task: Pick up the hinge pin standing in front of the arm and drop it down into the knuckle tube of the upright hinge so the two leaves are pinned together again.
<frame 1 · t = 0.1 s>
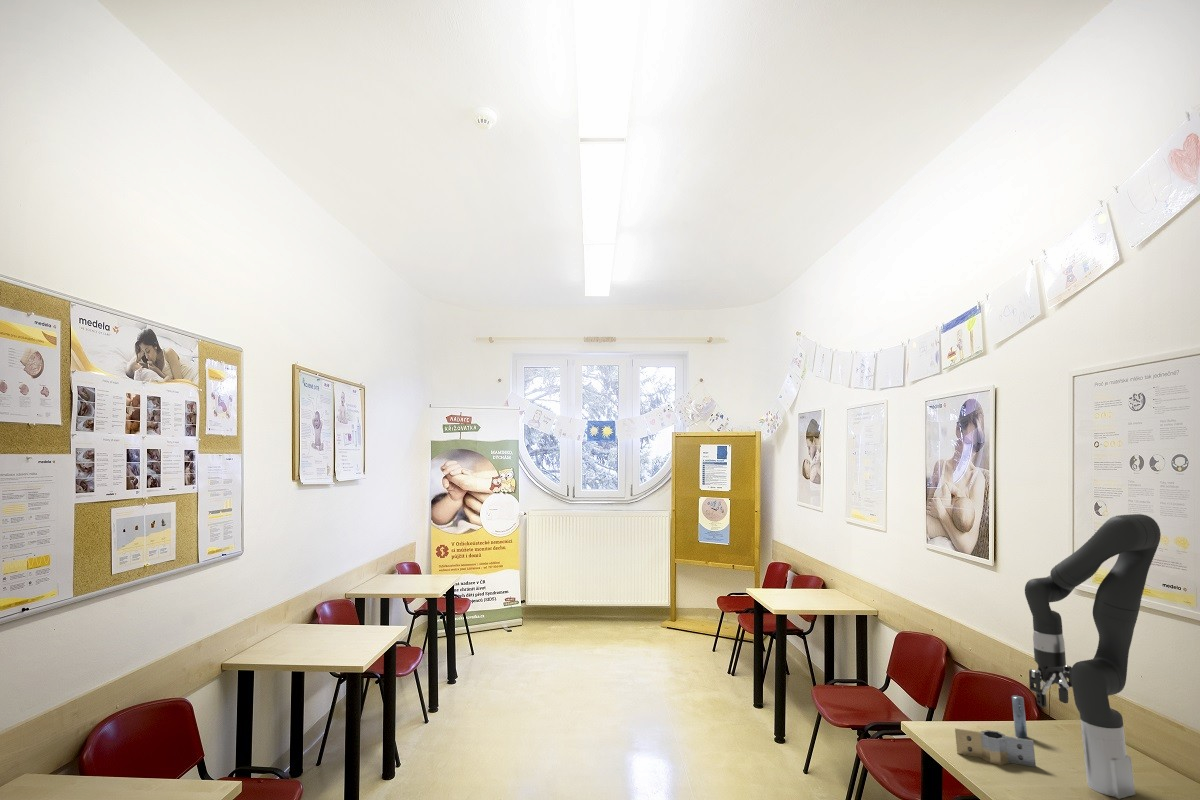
hand: (1053, 704, 185), 17 cm above the table, tool pointing down, fingers open, 8 cm apart
hinge: (995, 759, 188), on the table
pin: (1021, 736, 203), on the table
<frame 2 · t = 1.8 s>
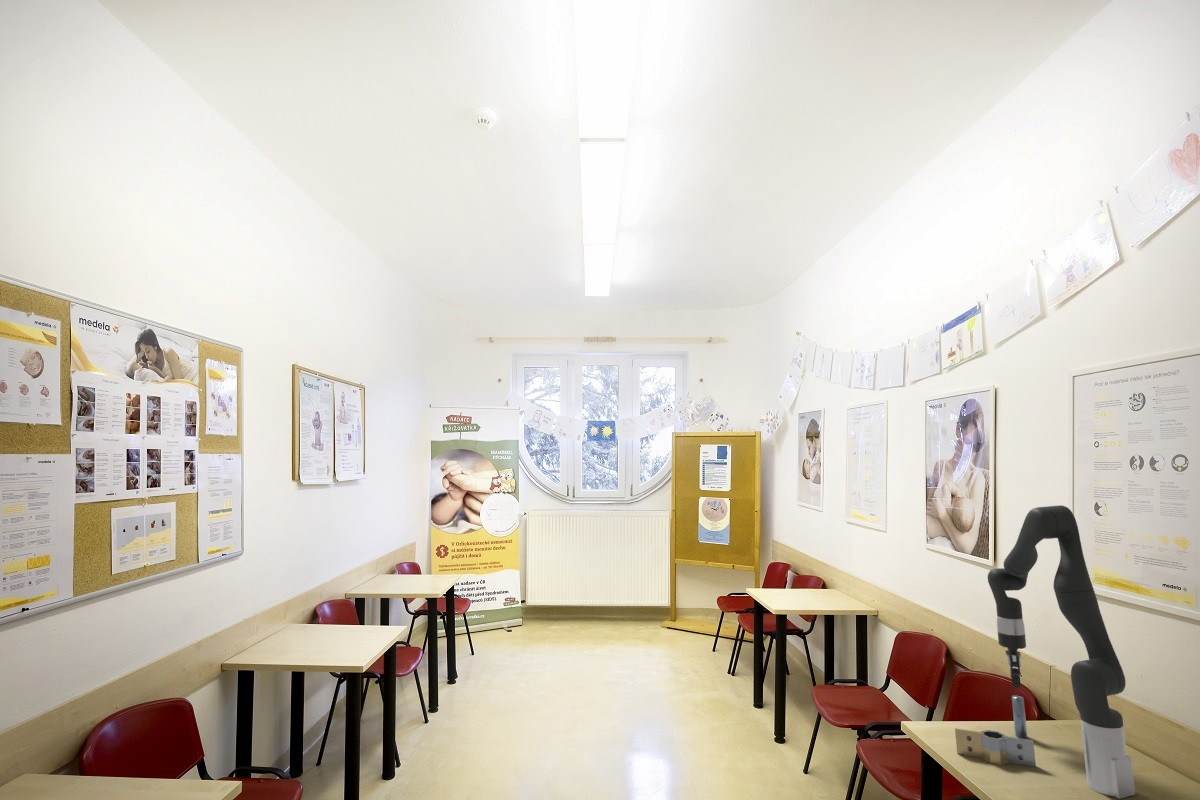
hand: (1015, 682, 204), 16 cm above the table, tool pointing down, fingers open, 8 cm apart
nothing on the table moved.
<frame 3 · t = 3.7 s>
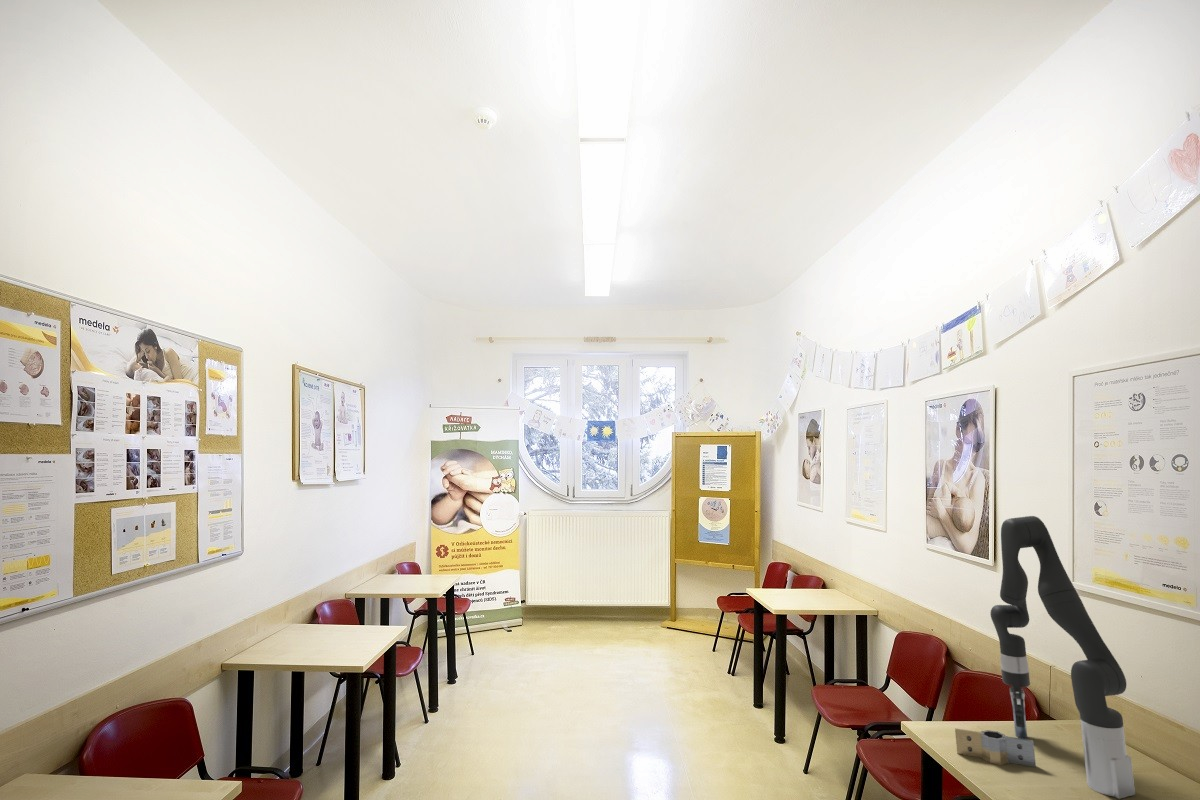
hand: (1020, 724, 203), 4 cm above the table, tool pointing down, fingers closed on pin, 3 cm apart
pin: (1021, 736, 203), on the table, touching gripper
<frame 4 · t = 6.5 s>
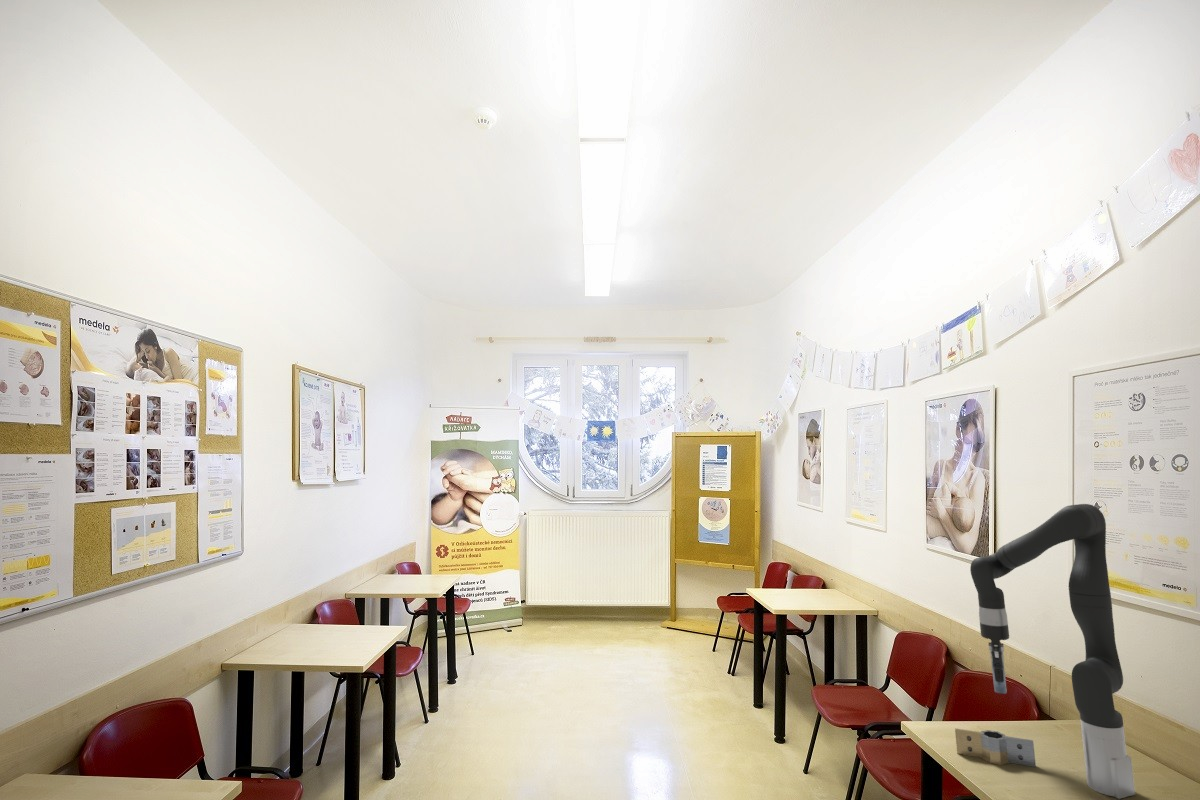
hand: (999, 679, 196), 21 cm above the table, tool pointing down, fingers closed on pin, 3 cm apart
pin: (1000, 691, 195), point 17 cm above the table, touching gripper
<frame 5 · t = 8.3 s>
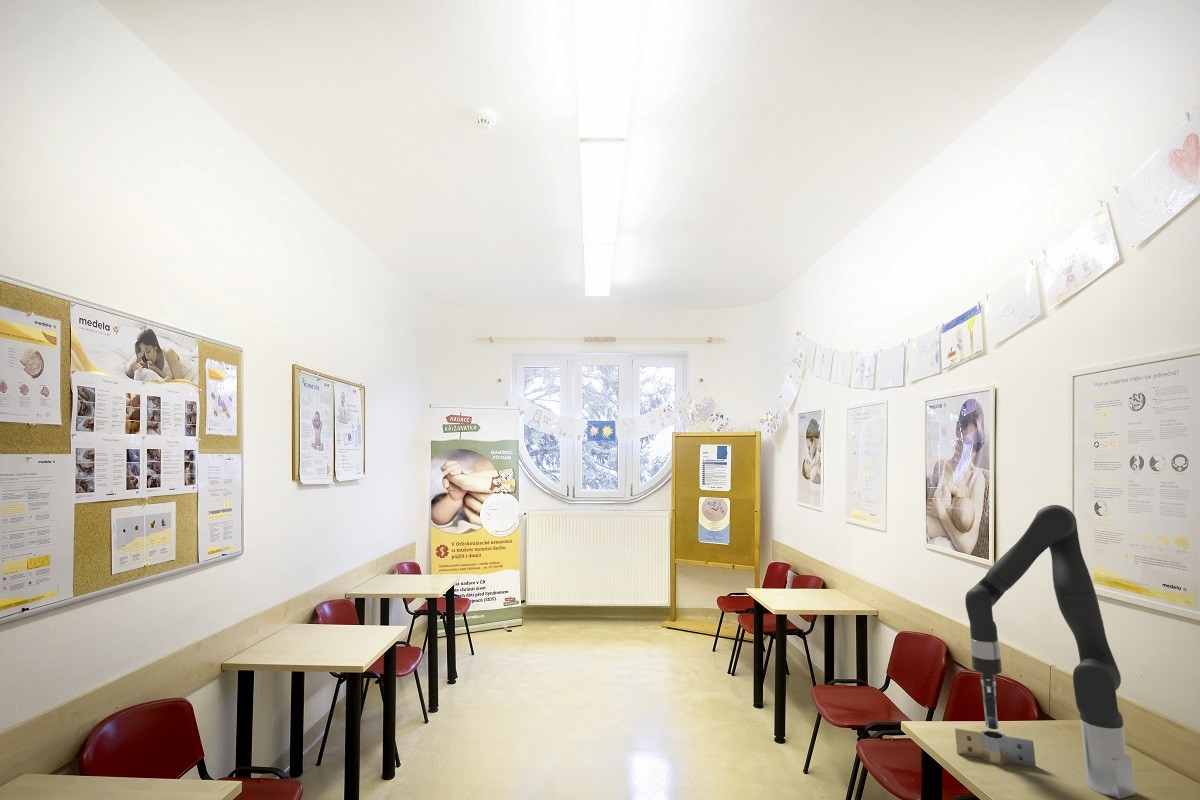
hand: (991, 714, 189), 13 cm above the table, tool pointing down, fingers closed on pin, 3 cm apart
pin: (992, 727, 189), point 9 cm above the table, touching gripper
when the fingers open (8 cm above the table, at t = 9.5 s): pin drops 4 cm, resting in hinge.
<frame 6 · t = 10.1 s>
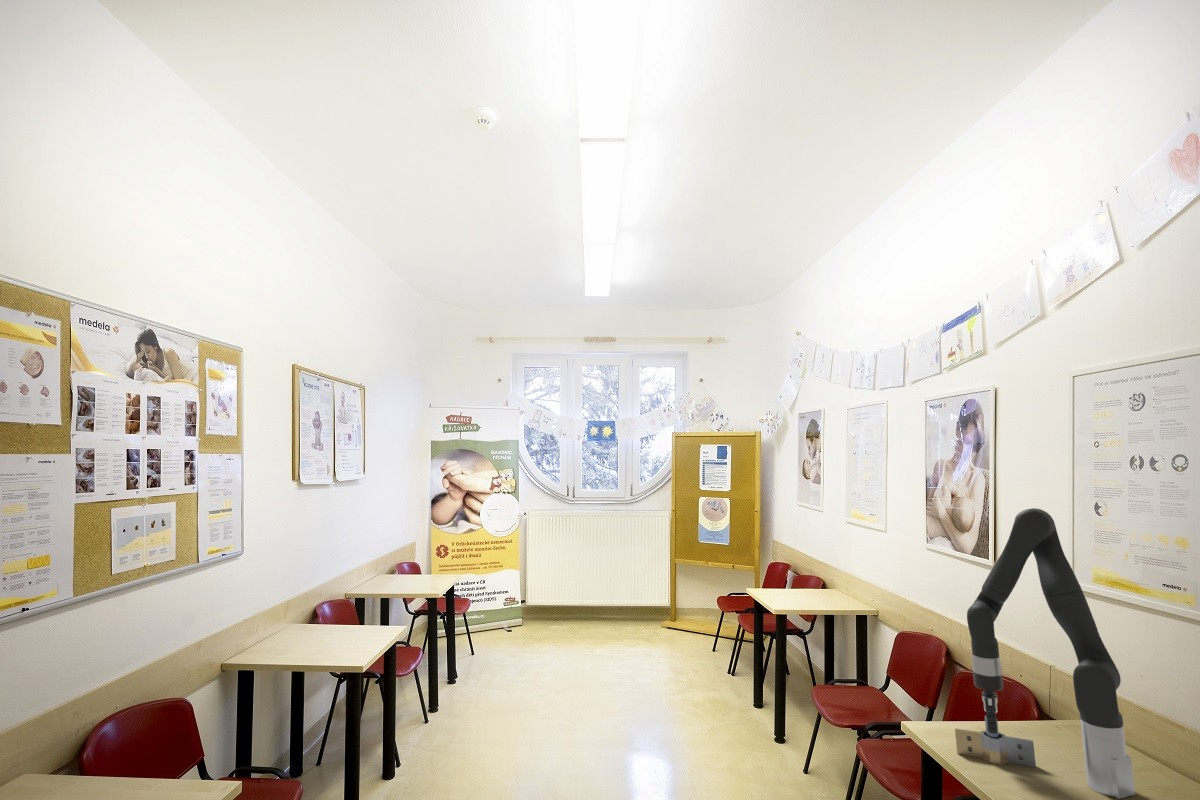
hand: (992, 727, 189), 9 cm above the table, tool pointing down, fingers open, 8 cm apart
pin: (995, 759, 188), resting in hinge
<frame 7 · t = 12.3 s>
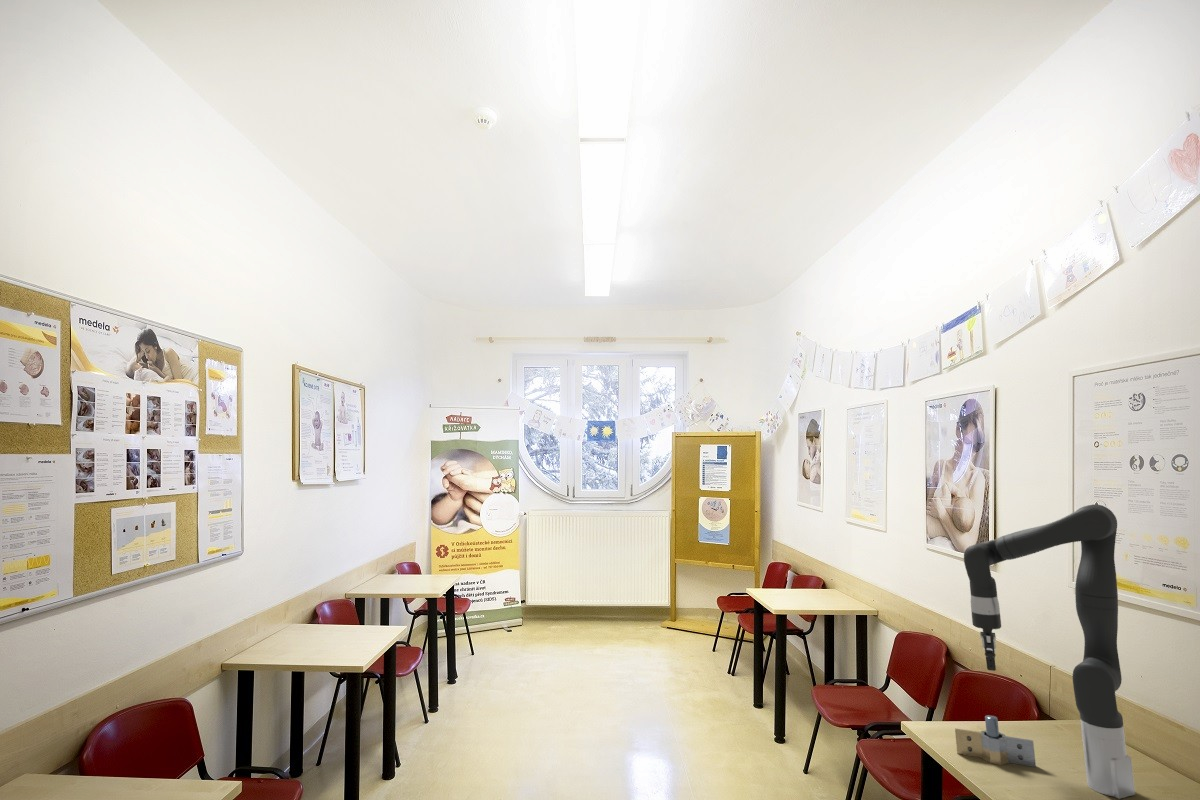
hand: (990, 666, 192), 26 cm above the table, tool pointing down, fingers open, 8 cm apart
nothing on the table moved.
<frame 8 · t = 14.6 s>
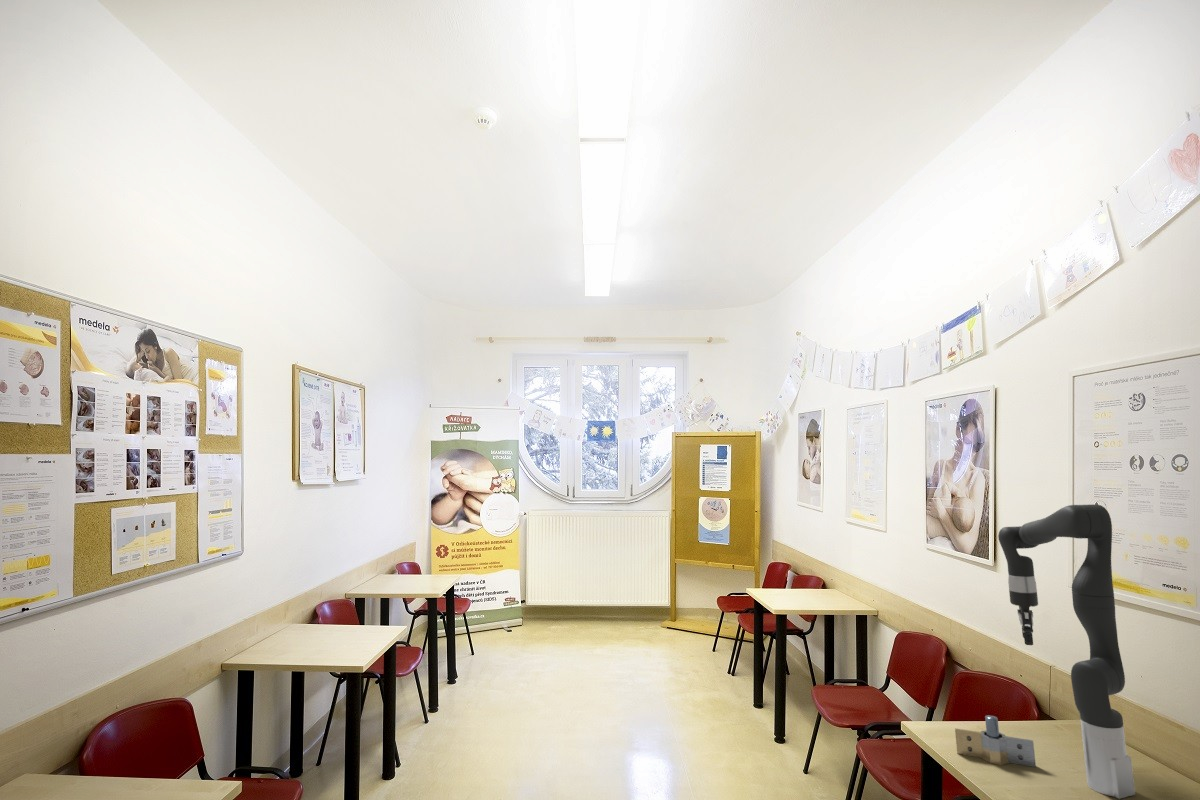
hand: (1028, 641, 203), 30 cm above the table, tool pointing down, fingers open, 8 cm apart
nothing on the table moved.
at the end: pin 0.1 cm off-centre on the hinge, point 0.0 cm above the hinge's base; pin tilted 0°; the gripper is holding nothing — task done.
